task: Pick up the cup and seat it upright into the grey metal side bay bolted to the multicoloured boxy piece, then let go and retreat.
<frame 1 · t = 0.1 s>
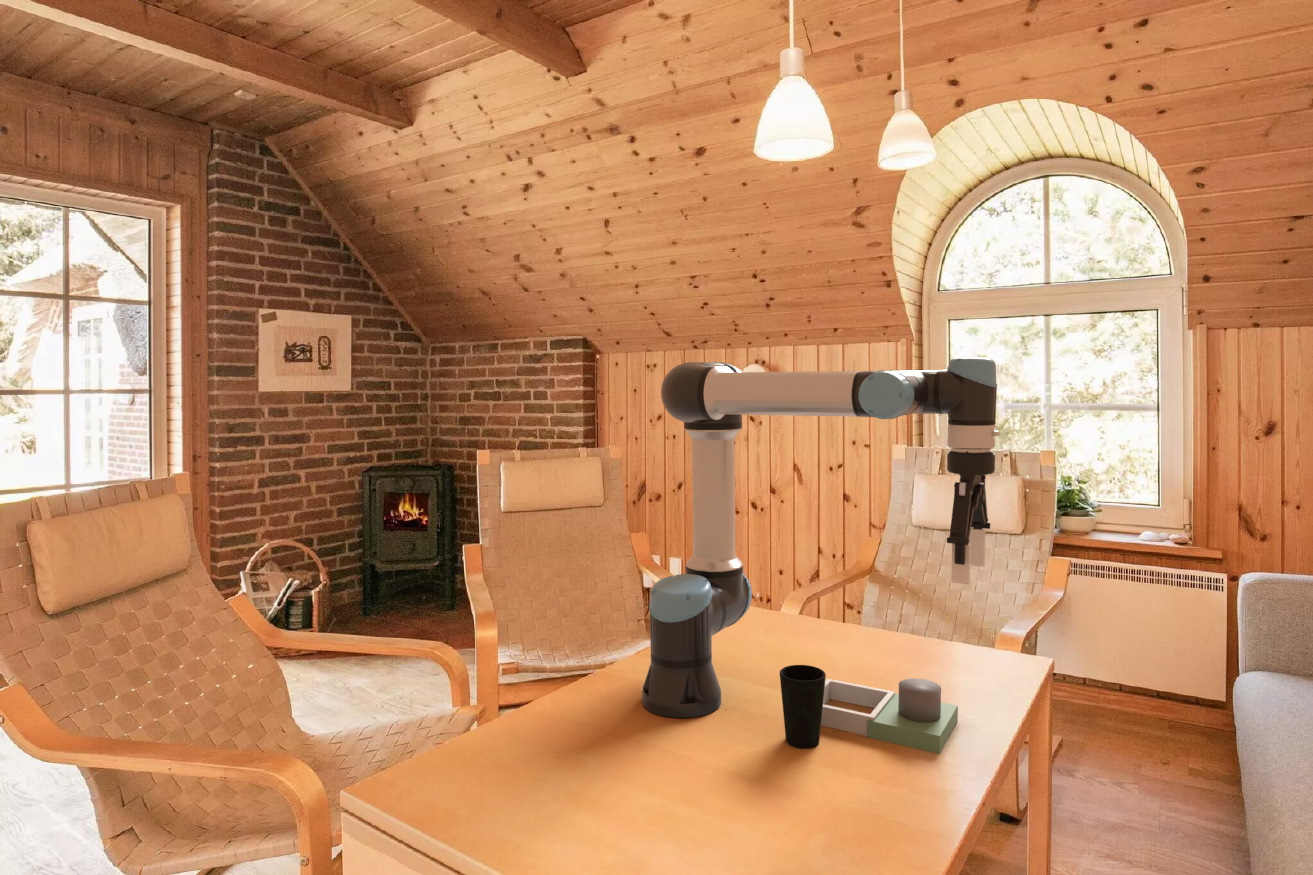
hand: (968, 574, 138), 28 cm above the table, fingers open, 13 cm apart
multicoloured boxy piece: (913, 729, 141), on the table
cup: (802, 742, 138), on the table
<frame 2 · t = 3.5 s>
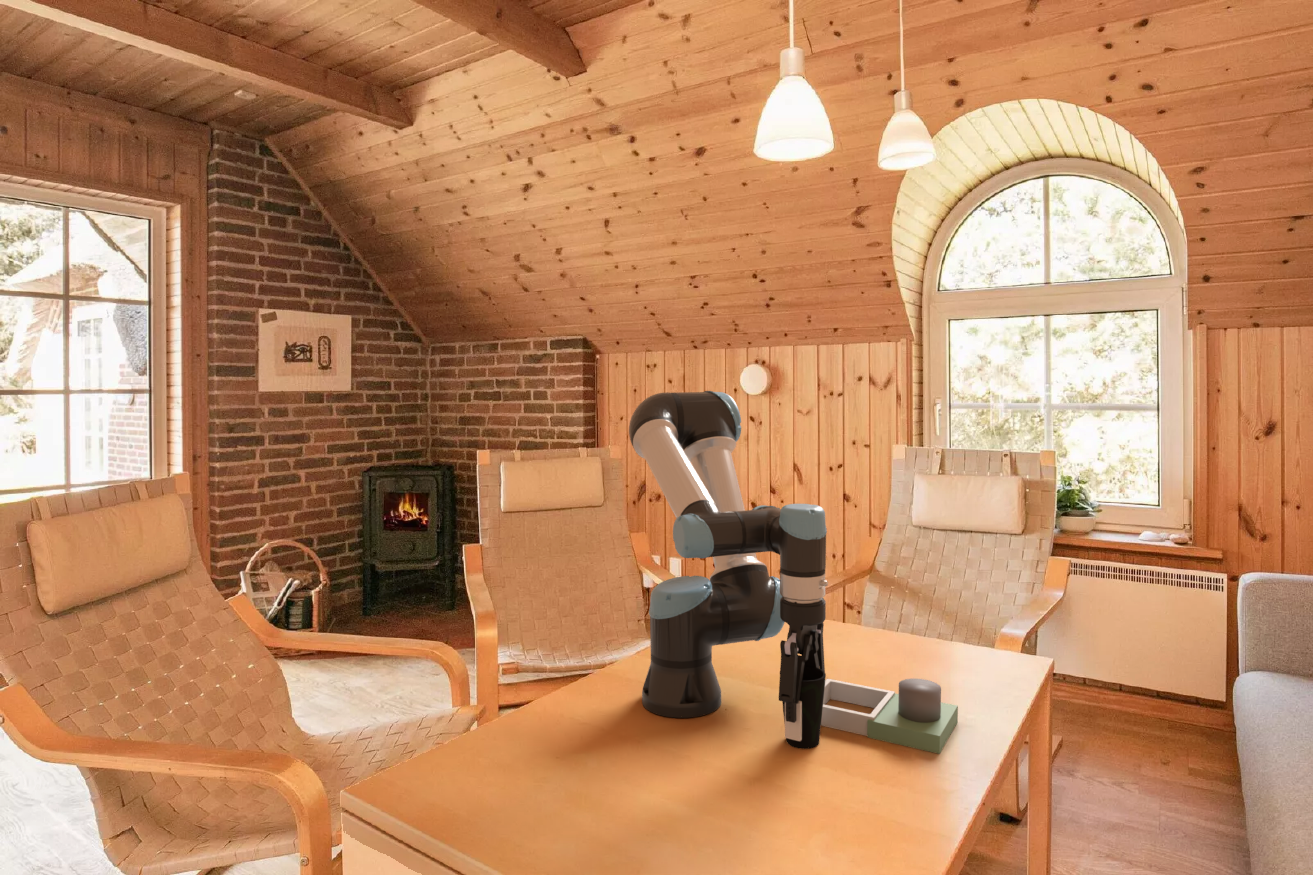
hand: (802, 728, 137), 2 cm above the table, fingers closed on cup, 8 cm apart
cup: (802, 742, 138), on the table, touching gripper
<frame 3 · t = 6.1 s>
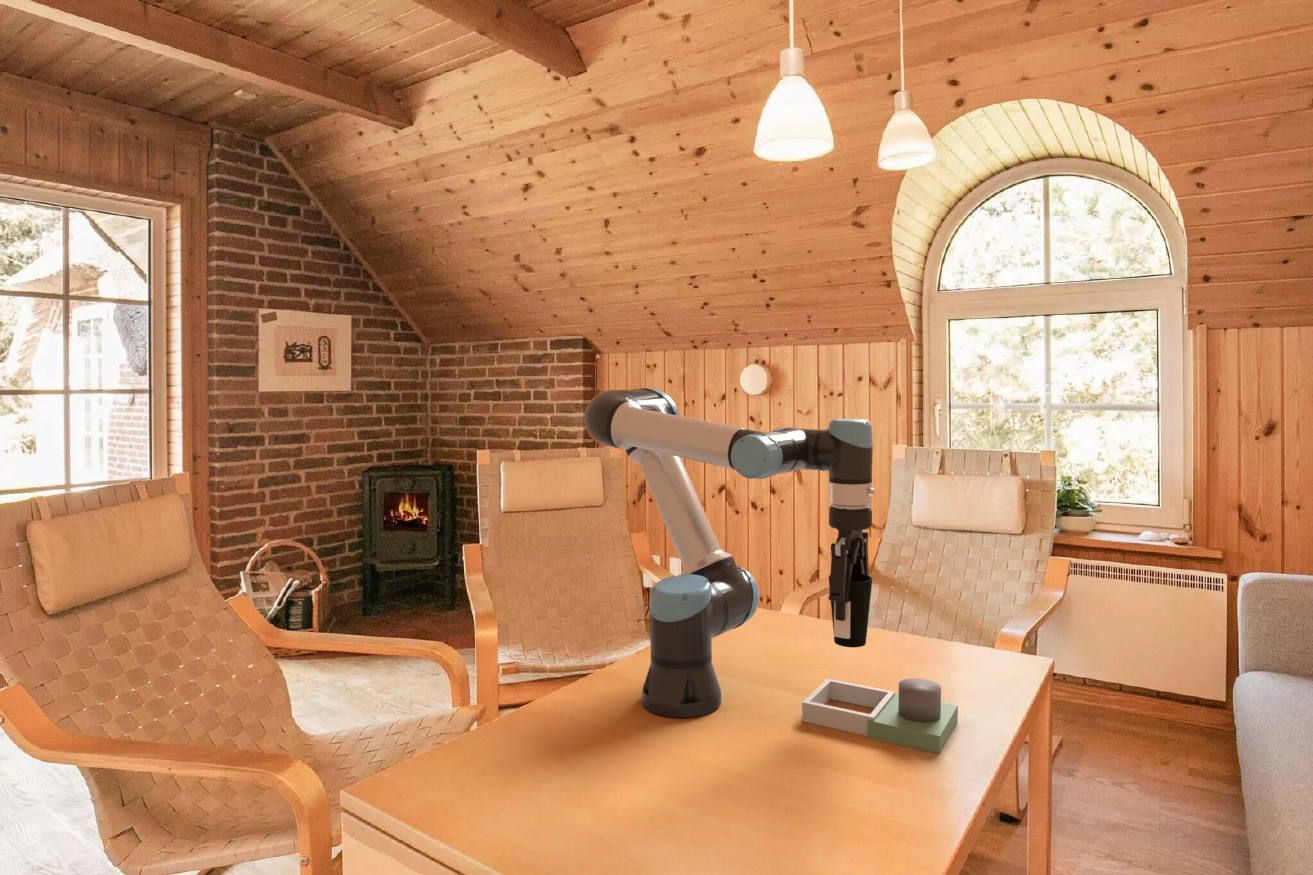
hand: (849, 630, 146), 16 cm above the table, fingers closed on cup, 8 cm apart
cup: (849, 643, 146), point 14 cm above the table, touching gripper
when the fingers open (5 cm above the table, at t = 8.5 s): cup drops 2 cm, resting in multicoloured boxy piece.
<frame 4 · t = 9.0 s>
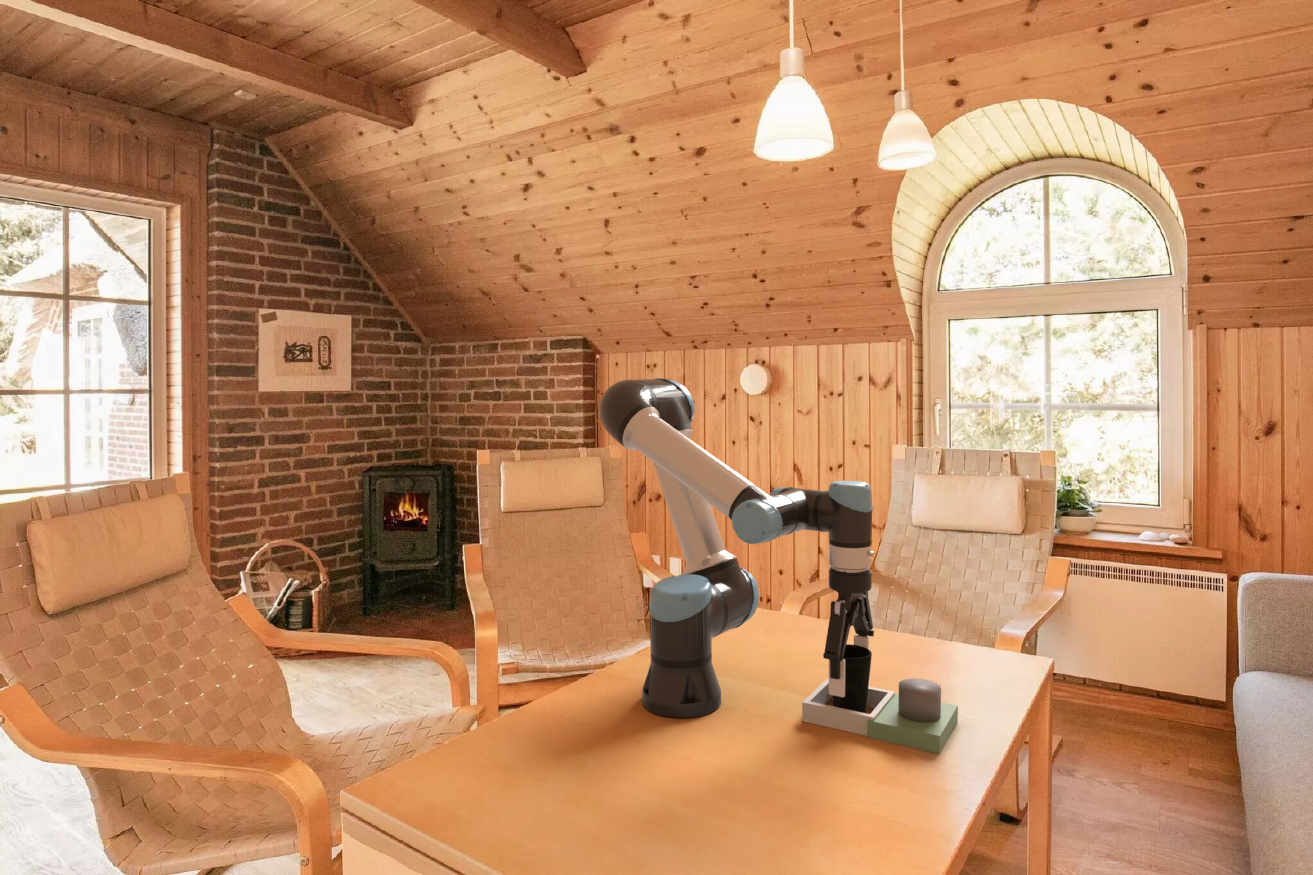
hand: (849, 682, 147), 6 cm above the table, fingers open, 13 cm apart
cup: (849, 716, 148), resting in multicoloured boxy piece
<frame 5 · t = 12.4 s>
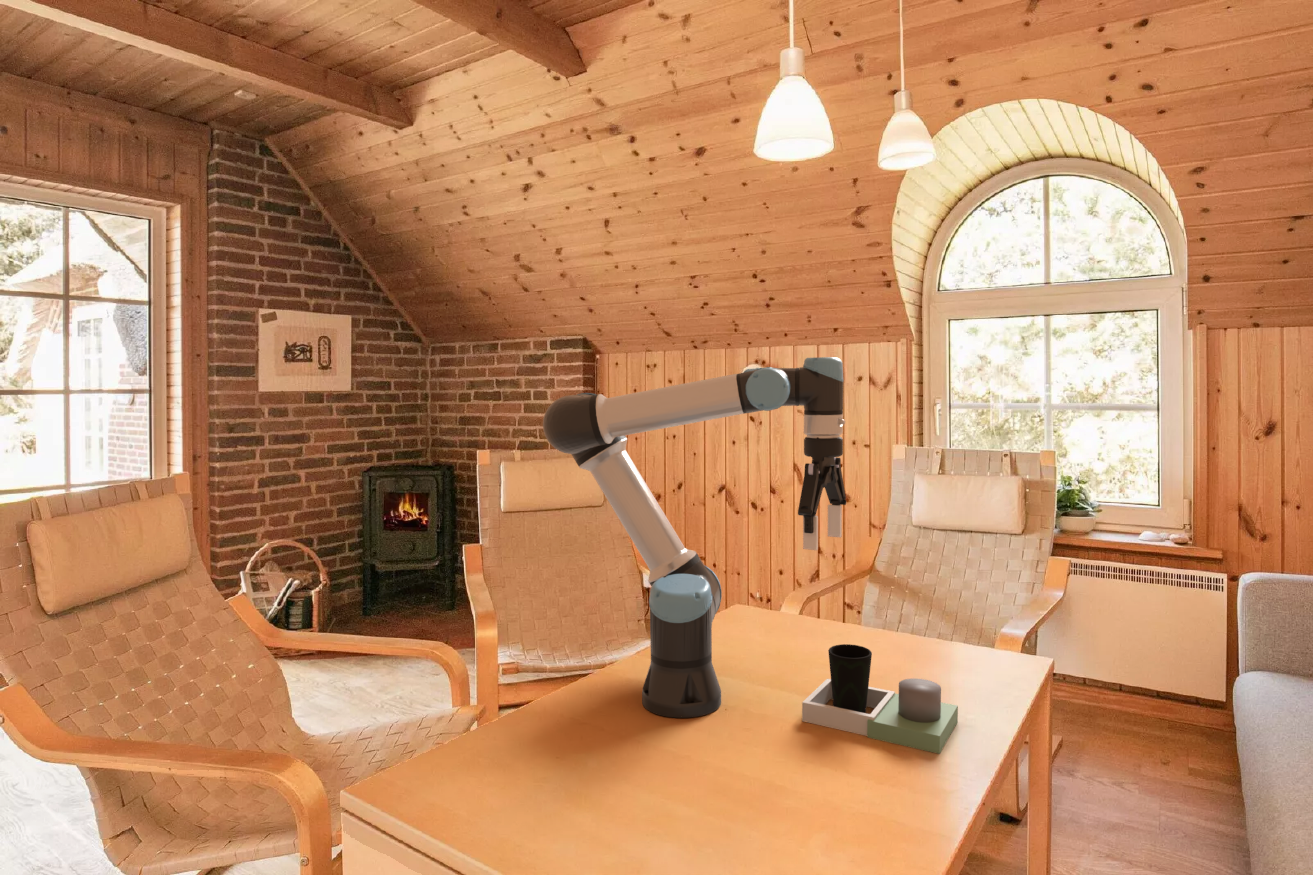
hand: (822, 543, 160), 29 cm above the table, fingers open, 13 cm apart
nothing on the table moved.
at the end: cup inside the target area on the multicoloured boxy piece (0.2 cm from its centre), point 0.0 cm above the multicoloured boxy piece's base; cup tilted 0°; the gripper is holding nothing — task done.
